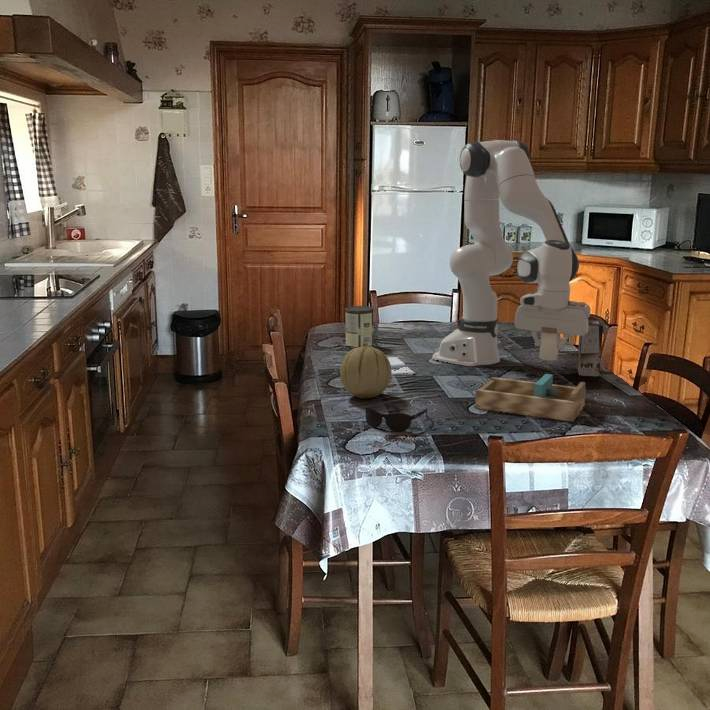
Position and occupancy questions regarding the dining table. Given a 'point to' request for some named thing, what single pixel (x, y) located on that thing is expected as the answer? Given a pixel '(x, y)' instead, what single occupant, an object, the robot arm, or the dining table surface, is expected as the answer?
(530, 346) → the dining table surface
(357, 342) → the coffee can
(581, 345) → the coffee box
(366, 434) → the dining table surface
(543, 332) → the jar
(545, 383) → the block
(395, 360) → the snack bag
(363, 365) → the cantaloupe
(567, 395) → the wooden tray
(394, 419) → the sunglasses
